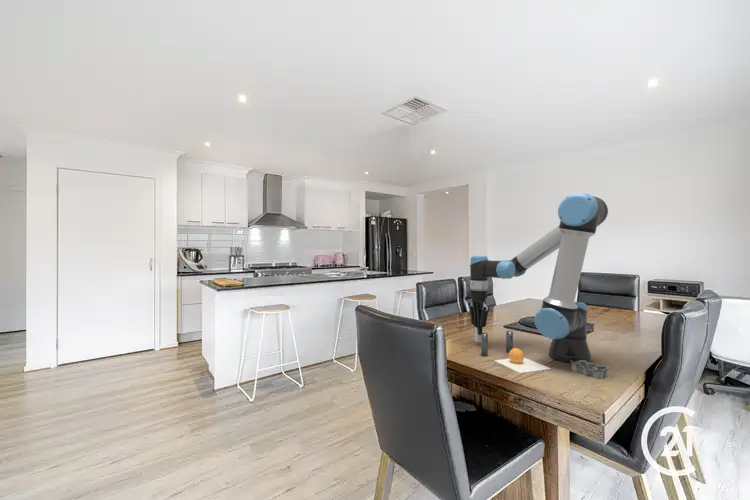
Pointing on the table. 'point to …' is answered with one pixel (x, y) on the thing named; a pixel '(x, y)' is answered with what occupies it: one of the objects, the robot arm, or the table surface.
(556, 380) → the table surface
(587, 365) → the egg carton
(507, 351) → the post right
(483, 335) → the post left
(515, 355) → the ball
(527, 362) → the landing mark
